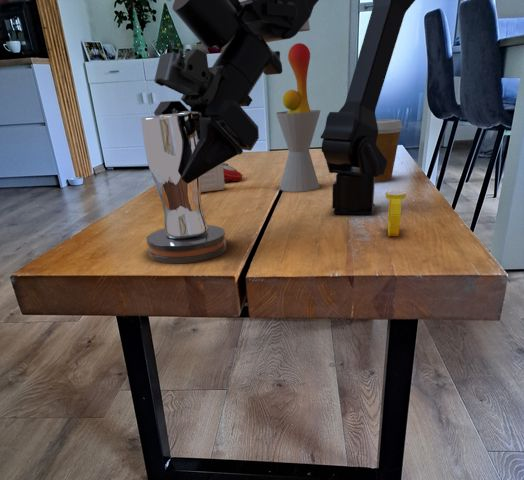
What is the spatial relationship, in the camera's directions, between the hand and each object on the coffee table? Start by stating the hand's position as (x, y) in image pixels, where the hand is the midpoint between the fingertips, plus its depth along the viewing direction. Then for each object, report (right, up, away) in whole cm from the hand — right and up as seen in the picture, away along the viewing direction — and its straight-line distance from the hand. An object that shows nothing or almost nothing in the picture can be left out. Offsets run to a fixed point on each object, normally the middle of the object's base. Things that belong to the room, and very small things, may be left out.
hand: (168, 177), depth 64 cm
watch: (+32, -6, +8) cm, 33 cm away
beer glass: (+2, -6, +5) cm, 8 cm away
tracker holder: (+3, +20, +57) cm, 60 cm away
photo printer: (-1, +12, +44) cm, 46 cm away
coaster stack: (+2, -9, +6) cm, 10 cm away
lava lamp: (+20, +13, +42) cm, 49 cm away
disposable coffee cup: (+38, +16, +46) cm, 62 cm away
